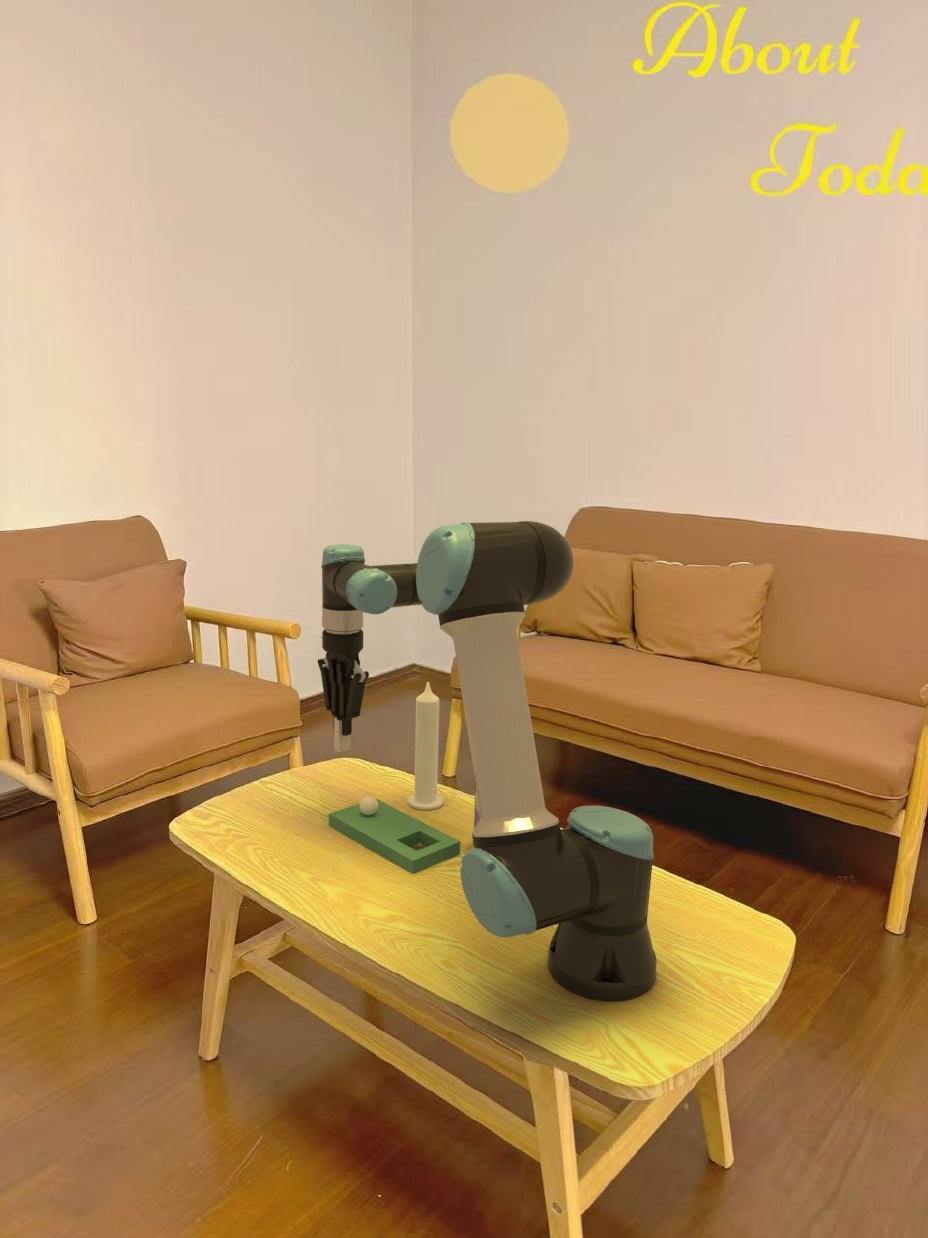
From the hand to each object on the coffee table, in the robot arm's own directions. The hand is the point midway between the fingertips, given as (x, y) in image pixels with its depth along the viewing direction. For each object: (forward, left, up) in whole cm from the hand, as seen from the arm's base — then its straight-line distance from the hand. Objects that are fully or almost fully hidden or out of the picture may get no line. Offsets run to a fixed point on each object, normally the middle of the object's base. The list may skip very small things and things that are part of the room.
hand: (342, 749), depth 177 cm
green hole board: (-15, 0, -13) cm, 20 cm away
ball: (-8, 0, -9) cm, 12 cm away
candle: (-7, -15, -13) cm, 21 cm away
